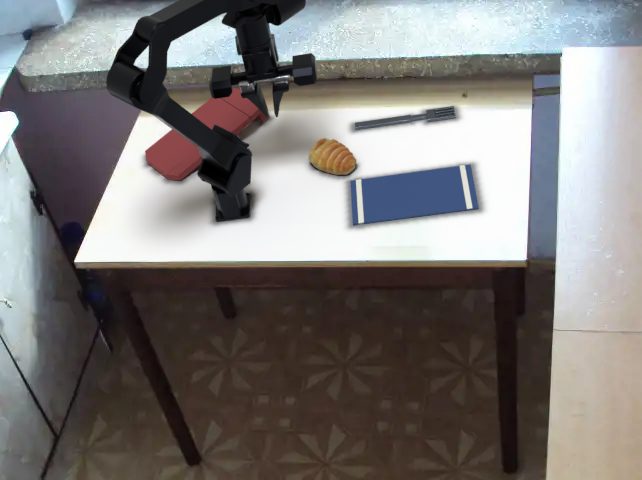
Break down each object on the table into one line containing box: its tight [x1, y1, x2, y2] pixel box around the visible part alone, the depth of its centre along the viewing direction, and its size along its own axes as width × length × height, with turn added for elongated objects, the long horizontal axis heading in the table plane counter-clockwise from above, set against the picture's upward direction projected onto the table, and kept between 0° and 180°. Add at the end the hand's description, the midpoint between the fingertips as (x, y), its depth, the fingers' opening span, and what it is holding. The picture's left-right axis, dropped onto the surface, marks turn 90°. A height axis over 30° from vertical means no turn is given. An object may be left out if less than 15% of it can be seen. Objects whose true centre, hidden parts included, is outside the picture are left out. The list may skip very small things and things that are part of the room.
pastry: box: [308, 137, 357, 176], centre depth 178 cm, size 9×7×4 cm
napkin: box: [350, 164, 480, 226], centre depth 170 cm, size 12×22×1 cm, turn 89°
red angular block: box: [144, 87, 271, 181], centre depth 190 cm, size 12×5×25 cm
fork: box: [354, 105, 457, 131], centre depth 184 cm, size 3×19×1 cm, turn 89°
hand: (272, 116), depth 172 cm, fingers closed
